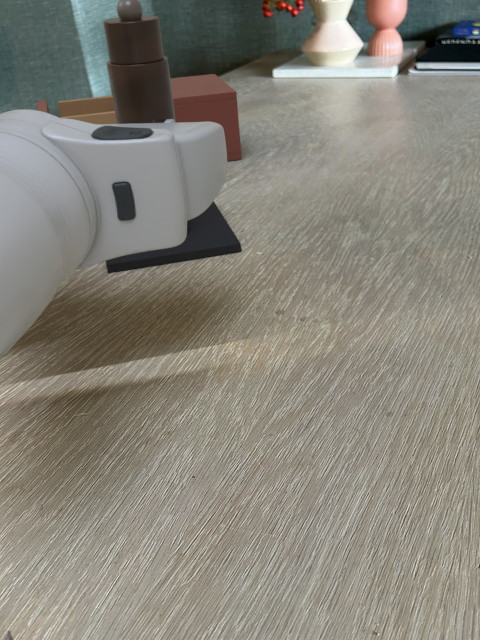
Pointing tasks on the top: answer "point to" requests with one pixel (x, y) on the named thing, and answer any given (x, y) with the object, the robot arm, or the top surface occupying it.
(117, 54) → the pepper mill
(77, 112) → the drawer
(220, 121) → the cabinet
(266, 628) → the top surface
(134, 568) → the top surface
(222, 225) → the plate
